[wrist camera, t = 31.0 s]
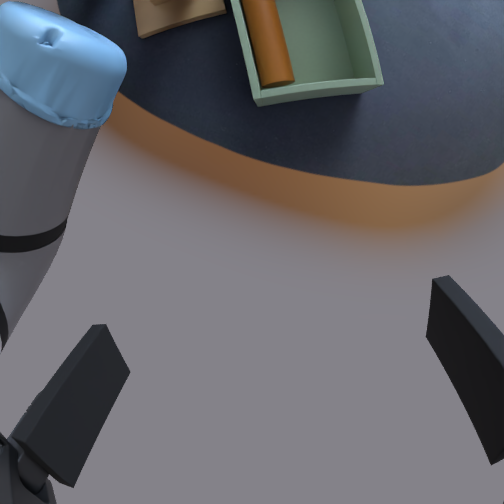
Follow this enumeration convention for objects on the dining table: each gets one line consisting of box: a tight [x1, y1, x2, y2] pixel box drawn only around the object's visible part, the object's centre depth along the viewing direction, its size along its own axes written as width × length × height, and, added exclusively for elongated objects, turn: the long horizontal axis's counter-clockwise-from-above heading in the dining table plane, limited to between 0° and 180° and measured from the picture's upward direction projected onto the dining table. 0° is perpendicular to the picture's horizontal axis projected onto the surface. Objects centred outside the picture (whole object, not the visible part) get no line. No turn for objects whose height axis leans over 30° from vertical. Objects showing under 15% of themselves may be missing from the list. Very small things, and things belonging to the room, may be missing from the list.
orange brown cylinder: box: [241, 0, 295, 88], centre depth 29 cm, size 4×19×4 cm
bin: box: [230, 0, 384, 107], centre depth 27 cm, size 14×23×9 cm, turn 11°
